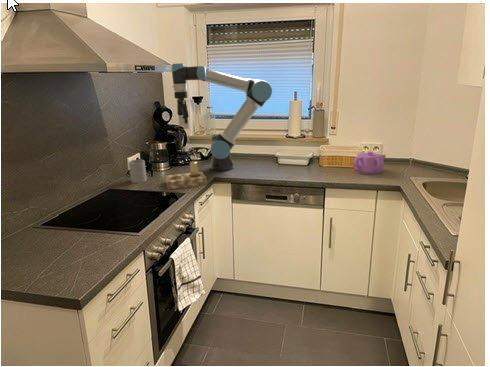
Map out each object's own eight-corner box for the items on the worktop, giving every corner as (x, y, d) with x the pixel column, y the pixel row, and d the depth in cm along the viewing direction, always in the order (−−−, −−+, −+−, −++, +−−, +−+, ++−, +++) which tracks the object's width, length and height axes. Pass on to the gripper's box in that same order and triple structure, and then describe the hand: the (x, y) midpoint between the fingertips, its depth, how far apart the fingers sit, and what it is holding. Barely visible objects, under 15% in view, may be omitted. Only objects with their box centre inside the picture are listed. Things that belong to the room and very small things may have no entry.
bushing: (198, 180, 208) (196, 161, 204) (199, 182, 204) (198, 162, 200) (190, 181, 207) (189, 161, 203) (192, 183, 203) (190, 163, 199)
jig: (202, 177, 213) (201, 171, 212) (206, 184, 200) (206, 177, 199) (165, 182, 207) (165, 175, 206) (168, 189, 194) (167, 182, 193)
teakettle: (352, 173, 211) (353, 153, 208) (356, 166, 226) (357, 148, 222) (382, 176, 204) (384, 156, 201) (384, 169, 219) (386, 149, 215)
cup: (141, 183, 206) (138, 163, 203) (128, 182, 209) (125, 163, 205) (149, 178, 215) (147, 159, 211) (136, 177, 217) (134, 159, 214)
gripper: (170, 90, 214) (173, 125, 221) (178, 92, 192) (182, 130, 198) (182, 90, 217) (185, 124, 223) (191, 91, 194) (195, 129, 201)
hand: (184, 127), depth 211 cm, fingers open, 13 cm apart
